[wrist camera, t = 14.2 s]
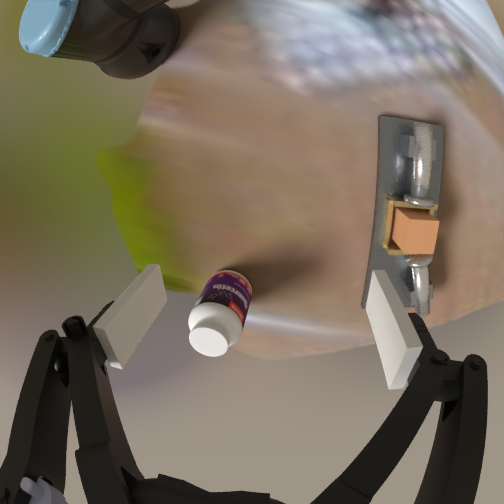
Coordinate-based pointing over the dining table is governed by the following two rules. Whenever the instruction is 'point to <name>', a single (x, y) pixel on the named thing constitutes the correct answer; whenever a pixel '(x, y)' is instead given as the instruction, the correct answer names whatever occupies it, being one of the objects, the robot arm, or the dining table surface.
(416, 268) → the shaft
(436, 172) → the board
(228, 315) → the pill bottle
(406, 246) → the block
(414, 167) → the shaft
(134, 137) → the dining table surface
